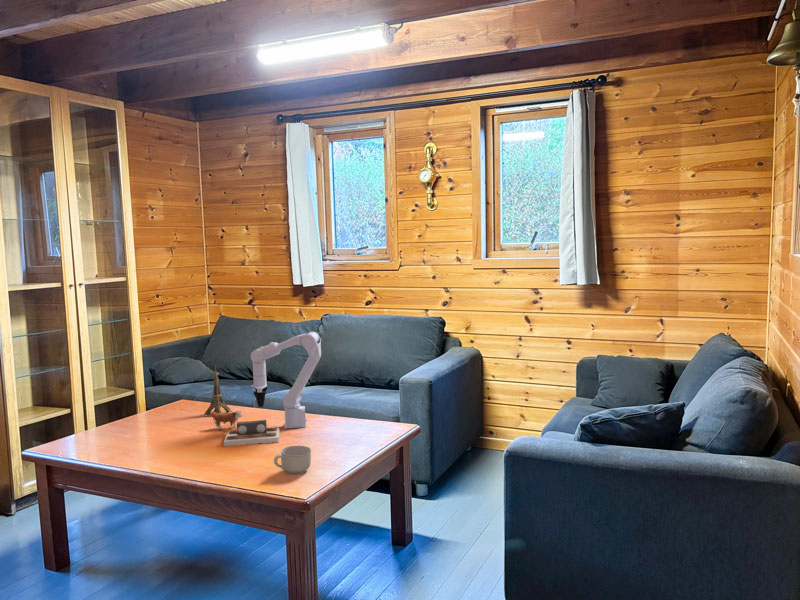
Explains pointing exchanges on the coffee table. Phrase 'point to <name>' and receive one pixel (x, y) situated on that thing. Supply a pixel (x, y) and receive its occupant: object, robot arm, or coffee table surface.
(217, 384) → the eiffel tower
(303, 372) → the robot arm
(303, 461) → the teacup
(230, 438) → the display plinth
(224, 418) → the bull figurine
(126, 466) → the coffee table surface
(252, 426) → the grey rectangular block
